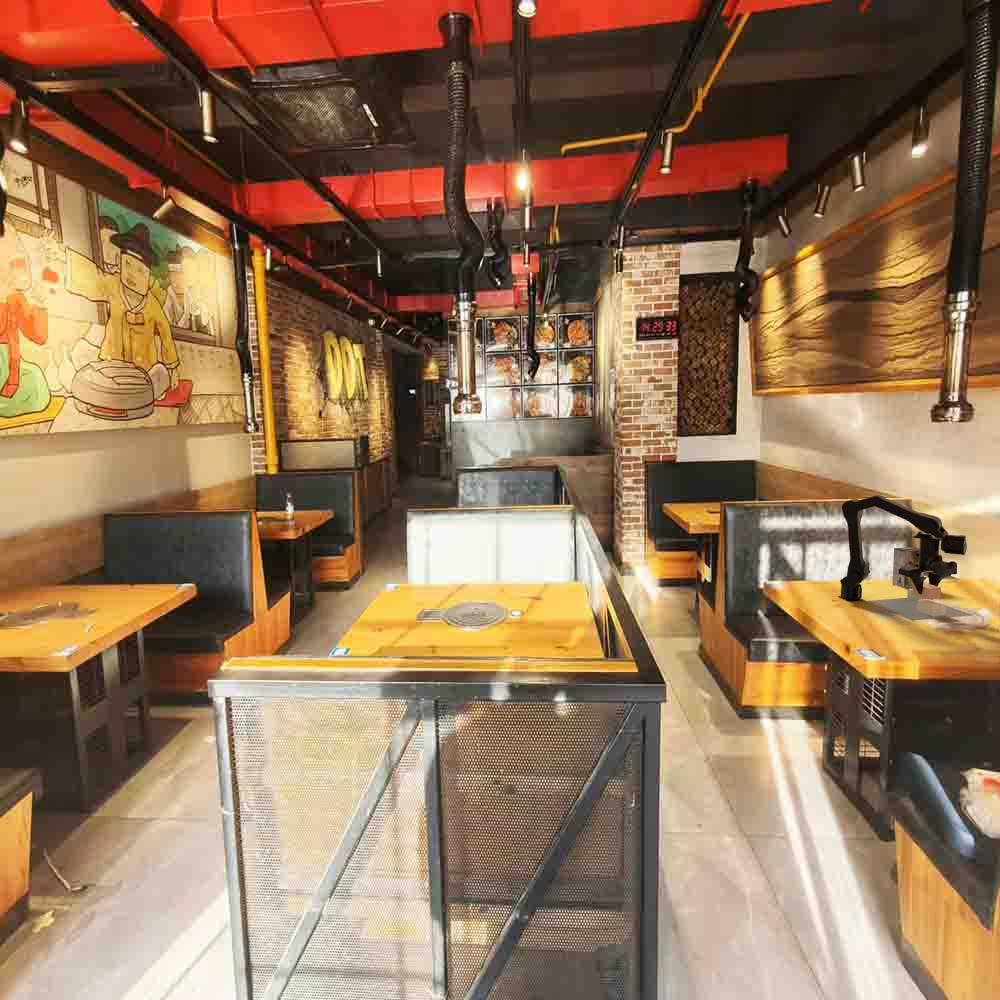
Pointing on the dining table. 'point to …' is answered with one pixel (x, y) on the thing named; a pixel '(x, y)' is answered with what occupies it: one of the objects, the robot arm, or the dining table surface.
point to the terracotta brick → (928, 591)
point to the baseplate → (912, 609)
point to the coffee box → (904, 558)
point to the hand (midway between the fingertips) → (926, 593)
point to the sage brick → (914, 596)
